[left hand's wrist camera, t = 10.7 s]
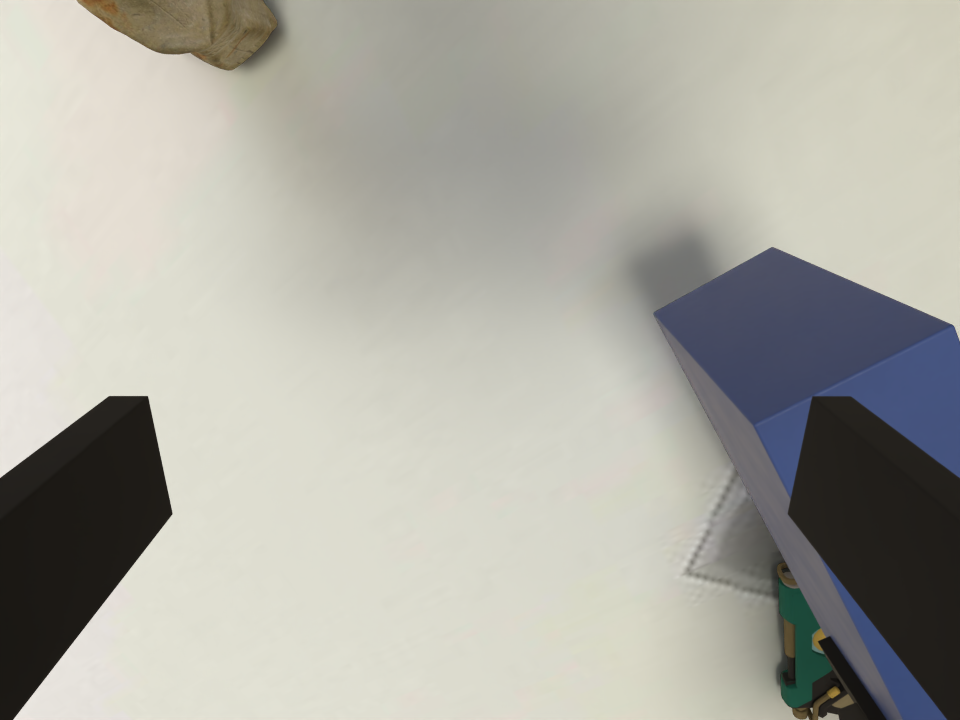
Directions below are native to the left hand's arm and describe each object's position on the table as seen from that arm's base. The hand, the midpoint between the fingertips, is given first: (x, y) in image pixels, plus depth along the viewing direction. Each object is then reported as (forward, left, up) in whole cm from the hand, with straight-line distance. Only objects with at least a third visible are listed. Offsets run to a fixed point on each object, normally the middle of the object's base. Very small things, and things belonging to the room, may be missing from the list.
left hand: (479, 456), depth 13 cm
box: (+7, +20, -18) cm, 28 cm away
